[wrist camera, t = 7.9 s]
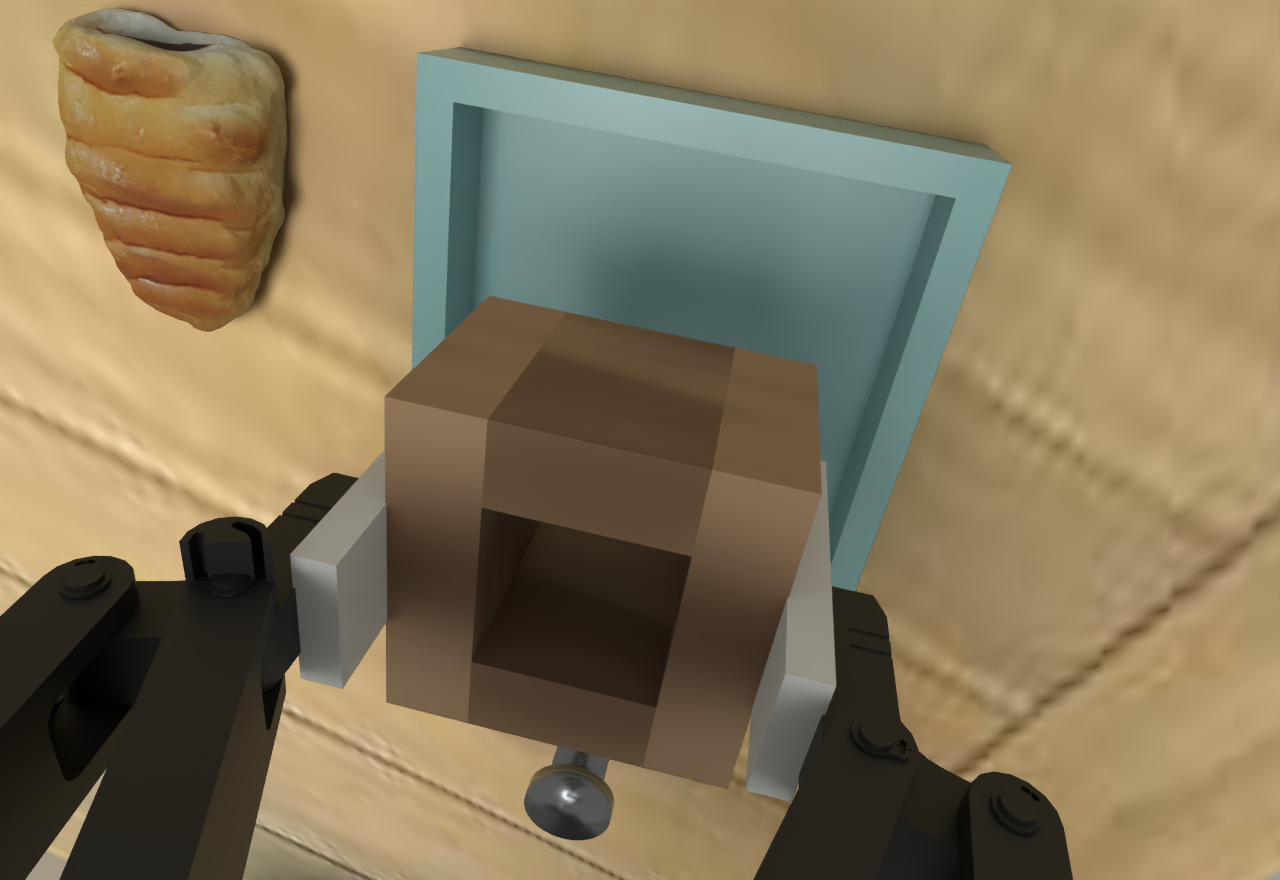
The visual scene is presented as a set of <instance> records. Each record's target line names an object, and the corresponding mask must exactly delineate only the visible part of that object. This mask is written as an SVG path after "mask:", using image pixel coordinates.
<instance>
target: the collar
mask: <svg viewBox="0 0 1280 880" xmlns="http://www.w3.org/2000/svg"><path fill="white" fill-rule="evenodd" d="M821 496H822V486H821V460H820V434H819V408H818V382H817V365H815V364H810V363H805V362H801V361H796V360H791V359H786V358H782V357H777V356H772V355H768V354H763V353H758V352H753V351H749V350H744V349H739V348H735V347H730V346H725V345H720V344H716V343H711V342H706V341H701V340H697V339H692V338H687V337H683V336H678V335H673V334H668V333H664V332H659V331H654V330H650V329H645V328H640V327H635V326H631V325H626V324H621V323H616V322H612V321H607V320H602V319H598V318H593V317H588V316H583V315H579V314H574V313H569V312H565V311H560V310H555V309H550V308H546V307H541V306H536V305H532V304H527V303H522V302H517V301H513V300H508V299H503V298H498V297H494V296H489V297H487V298H486V299H485V300H484V301H483V302H482V303H481V304H480V305H479V306H478V307H477V308H476V309H475V310H474V311H473V312H472V313H471V314H470V315H469V316H468V317H467V318H466V319H465V320H464V321H463V322H462V323H461V324H459V325H458V326H457V327H456V328H455V329H454V330H453V331H452V332H451V333H450V334H449V335H448V336H447V337H446V338H445V339H444V340H443V341H442V342H441V343H440V344H439V345H438V346H437V347H436V348H435V349H434V350H432V351H431V352H430V353H429V354H428V355H427V356H426V357H425V358H424V359H423V360H422V361H421V362H420V363H419V364H418V365H417V366H416V367H415V368H414V369H413V370H412V371H411V372H410V373H409V374H408V375H407V376H405V377H404V378H403V379H402V380H401V381H400V382H399V383H398V384H397V385H396V386H395V387H394V388H393V389H392V390H391V391H390V392H389V393H388V394H387V395H386V396H385V503H386V517H387V622H386V702H387V703H391V704H394V705H398V706H402V707H406V708H410V709H414V710H418V711H422V712H426V713H430V714H434V715H438V716H442V717H446V718H450V719H454V720H458V721H461V722H465V723H469V724H473V725H477V726H481V727H485V728H489V729H493V730H497V731H501V732H505V733H509V734H513V735H517V736H521V737H524V738H528V739H532V740H536V741H540V742H544V743H548V744H552V745H556V746H560V747H564V748H568V749H572V750H576V751H580V752H584V753H588V754H591V755H595V756H599V757H603V758H607V759H611V760H615V761H619V762H623V763H627V764H631V765H635V766H639V767H643V768H647V769H651V770H654V771H658V772H662V773H666V774H670V775H674V776H678V777H682V778H686V779H690V780H694V781H698V782H702V783H706V784H710V785H714V786H718V787H721V788H725V789H728V786H729V783H730V780H731V777H732V773H733V770H734V767H735V764H736V761H737V758H738V755H739V752H740V748H741V745H742V742H743V739H744V736H745V733H746V730H747V727H748V723H749V720H750V717H751V712H752V707H753V704H754V701H755V698H756V695H757V692H758V688H759V685H760V682H761V679H762V676H763V673H764V670H765V666H766V663H767V660H768V657H769V654H770V651H771V647H772V644H773V641H774V638H775V635H776V632H777V629H778V625H779V622H780V619H781V616H782V613H783V610H784V607H785V603H786V600H787V597H789V595H790V592H791V589H792V586H793V583H794V580H795V577H796V574H797V570H798V567H799V564H800V561H801V558H802V555H803V552H804V549H805V545H806V542H807V539H808V536H809V533H810V530H811V527H812V524H813V520H814V517H815V514H816V511H817V508H818V505H819V502H820V499H821Z"/></svg>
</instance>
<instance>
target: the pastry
mask: <svg viewBox="0 0 1280 880" xmlns="http://www.w3.org/2000/svg"><path fill="white" fill-rule="evenodd" d="M53 43H54V48H55V49H56V51H57V53H58V54H59V61H60V66H59V79H58V103H59V110H60V117H61V120H62V122H63V125H64V127H65V130H66V135H67V140H66V150H65V157H66V164H67V166H68V168H69V170H70V172H71V173H72V174H73V175H74V176H75V177H76V179H77V181H78V182H79V185H80V188H81V190H82V193H83V196H84V198H85V199H86V201H87V202H88V203H89V204H90V205H91V207H92V208H93V210H94V213H95V218H96V220H97V223H98V225H99V228H100V230H101V231H102V232H103V236H104V241H105V244H106V246H107V248H108V249H109V251H110V252H111V254H112V255H113V257H114V259H115V262H116V265H117V267H118V268H119V270H120V271H121V272H122V274H123V275H124V276H125V277H126V279H127V280H128V282H129V283H130V284H131V286H132V290H133V292H134V293H135V295H137V296H138V297H139V298H140V299H141V300H143V301H144V302H145V303H147V304H148V305H150V306H151V307H153V308H154V309H156V310H158V311H160V312H162V313H164V314H167V315H169V316H172V317H174V318H176V319H179V320H182V321H185V322H188V323H189V324H191V325H192V326H193V327H194V328H196V329H198V330H202V331H206V332H209V331H214V330H216V329H219V328H221V327H223V326H225V325H226V324H228V323H229V322H231V321H232V320H233V319H235V318H237V317H239V316H241V315H242V314H244V313H245V312H247V311H248V310H249V309H250V308H251V306H252V305H253V302H254V296H255V292H256V290H257V288H258V286H259V284H260V281H261V273H262V271H263V270H264V269H265V267H266V266H267V264H268V263H269V259H270V253H271V249H272V245H273V242H274V239H275V237H276V235H277V233H278V231H279V228H280V227H281V226H282V224H283V223H284V220H285V208H284V206H283V202H282V197H283V195H282V193H283V189H284V184H285V180H284V172H285V158H286V152H287V147H288V141H287V106H286V99H285V83H284V80H283V78H282V74H281V70H280V68H279V66H278V65H277V64H276V62H275V61H274V60H273V59H272V58H271V56H270V55H268V54H267V53H265V52H263V51H261V50H257V49H253V48H252V47H251V46H250V45H249V44H247V43H245V42H243V41H240V40H238V39H235V38H232V37H227V36H224V35H221V34H205V33H201V32H192V31H177V30H175V29H173V28H171V27H169V26H167V25H166V24H165V23H164V22H162V21H160V20H158V19H157V18H155V17H153V16H150V15H147V14H145V13H142V12H132V11H128V10H125V9H121V8H115V9H101V10H98V11H95V12H91V13H88V14H85V15H82V16H79V17H76V18H74V19H71V20H69V21H67V22H65V23H64V25H63V26H62V27H61V28H59V31H58V33H57V34H56V36H55V38H54V39H53Z"/></svg>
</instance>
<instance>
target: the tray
mask: <svg viewBox="0 0 1280 880" xmlns="http://www.w3.org/2000/svg"><path fill="white" fill-rule="evenodd" d="M1011 166H1012V164H1010V163H1009V162H1008V161H1006V160H1005V159H1004V158H1003V157H1001V156H1000V155H999V154H997V153H996V152H995V151H993V150H992V149H991V148H989V147H988V146H986V145H981V144H975V143H970V142H965V141H959V140H954V139H949V138H943V137H938V136H933V135H927V134H922V133H916V132H911V131H906V130H900V129H895V128H890V127H884V126H879V125H874V124H868V123H863V122H857V121H852V120H847V119H841V118H836V117H831V116H825V115H820V114H815V113H809V112H804V111H798V110H793V109H788V108H782V107H777V106H772V105H766V104H761V103H756V102H750V101H745V100H739V99H734V98H729V97H723V96H718V95H713V94H707V93H702V92H697V91H691V90H686V89H681V88H675V87H670V86H664V85H659V84H654V83H648V82H643V81H638V80H632V79H627V78H622V77H616V76H611V75H605V74H600V73H595V72H589V71H584V70H579V69H573V68H568V67H563V66H557V65H552V64H546V63H541V62H536V61H530V60H525V59H520V58H514V57H509V56H504V55H498V54H493V53H487V52H482V51H477V50H471V49H466V48H461V47H458V48H451V49H443V50H436V51H428V52H421V53H417V92H416V156H415V220H414V284H413V348H412V370H413V369H414V368H415V367H416V366H417V365H418V364H419V363H420V362H421V361H422V360H423V359H424V358H425V357H426V356H427V355H428V354H429V353H430V352H431V351H432V350H434V349H435V348H436V347H437V346H438V345H439V344H440V343H441V342H442V341H443V340H444V339H445V338H446V337H447V336H448V335H449V334H450V333H451V332H452V331H453V330H454V329H455V328H456V327H457V326H458V325H459V324H461V323H462V322H463V321H464V320H465V319H466V318H467V317H468V316H469V315H470V314H471V313H472V312H473V311H474V310H475V309H476V308H477V307H478V306H479V305H480V304H481V303H482V302H483V301H484V300H485V299H486V298H487V297H489V296H494V297H498V298H503V299H508V300H513V301H517V302H522V303H527V304H532V305H536V306H541V307H546V308H550V309H555V310H560V311H565V312H569V313H574V314H579V315H583V316H588V317H593V318H598V319H602V320H607V321H612V322H616V323H621V324H626V325H631V326H635V327H640V328H645V329H650V330H654V331H659V332H664V333H668V334H673V335H678V336H683V337H687V338H692V339H697V340H701V341H706V342H711V343H716V344H720V345H725V346H730V347H735V348H739V349H744V350H749V351H753V352H758V353H763V354H768V355H772V356H777V357H782V358H786V359H791V360H796V361H801V362H805V363H810V364H815V365H817V382H818V408H819V434H820V460H821V461H825V462H826V473H827V495H828V517H829V539H830V560H831V582H832V586H834V587H838V588H843V589H847V590H851V591H856V588H857V585H858V583H859V580H860V577H861V574H862V572H863V569H864V566H865V563H866V561H867V558H868V555H869V553H870V550H871V547H872V544H873V542H874V539H875V536H876V534H877V531H878V528H879V525H880V523H881V520H882V517H883V514H884V512H885V509H886V506H887V504H888V501H889V498H890V495H891V493H892V490H893V487H894V485H895V482H896V479H897V476H898V474H899V471H900V468H901V466H902V463H903V460H904V457H905V455H906V452H907V449H908V446H909V444H910V441H911V438H912V436H913V433H914V430H915V427H916V425H917V422H918V419H919V417H920V414H921V411H922V408H923V406H924V403H925V400H926V397H927V395H928V392H929V389H930V387H931V384H932V381H933V378H934V376H935V373H936V370H937V368H938V365H939V362H940V359H941V357H942V354H943V351H944V348H945V346H946V343H947V340H948V338H949V335H950V332H951V329H952V327H953V324H954V321H955V319H956V316H957V313H958V310H959V308H960V305H961V302H962V300H963V297H964V294H965V291H966V289H967V286H968V283H969V280H970V278H971V275H972V272H973V270H974V267H975V264H976V261H977V259H978V256H979V253H980V251H981V248H982V245H983V242H984V240H985V237H986V234H987V231H988V229H989V226H990V223H991V221H992V218H993V215H994V212H995V210H996V207H997V204H998V202H999V199H1000V196H1001V193H1002V191H1003V188H1004V185H1005V183H1006V180H1007V177H1008V174H1009V172H1010V169H1011Z"/></svg>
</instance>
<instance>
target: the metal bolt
mask: <svg viewBox="0 0 1280 880" xmlns="http://www.w3.org/2000/svg"><path fill="white" fill-rule="evenodd" d="M608 761H609V759H607V758H603V757H599V756H595V755H591V754H588V753H584V752H580V751H576V750H572V749H568V748H564V747H560V746H558V747H557V750H556V753H555V756H554V760H553V763H552V765H550V766H547V767H544V768H542V769H540V770H539V771H537V772H536V773H535V774H534V775H533V777H532V778H531V781H530V784H529V787H528V789H527V792H526V795H525V799H524V806H525V810H526V812H527V814H528V816H529V817H530V819H531V820H532V821H533V822H534V823H535V824H536V825H537V826H538V827H540V828H541V829H543V830H544V831H546V832H548V833H550V834H552V835H554V836H557V837H560V838H564V839H569V840H587V839H591V838H594V837H597V836H599V835H601V834H602V833H603V832H604V831H605V830H606V829H607V827H608V826H609V823H610V819H611V815H612V810H613V806H614V797H613V794H612V791H611V789H610V788H609V786H608V785H607V784H606V783H605V782H604V777H605V773H606V769H607V765H608Z"/></svg>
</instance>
